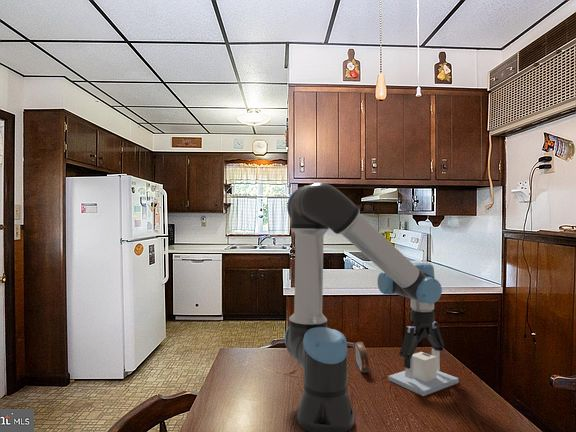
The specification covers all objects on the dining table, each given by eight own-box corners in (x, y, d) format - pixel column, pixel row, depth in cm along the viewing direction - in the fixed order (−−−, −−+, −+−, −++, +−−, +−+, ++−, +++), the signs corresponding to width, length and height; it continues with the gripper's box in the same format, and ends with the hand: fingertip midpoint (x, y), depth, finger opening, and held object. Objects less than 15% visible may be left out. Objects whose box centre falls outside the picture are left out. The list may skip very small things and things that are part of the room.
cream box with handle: (425, 382, 122) (424, 359, 122) (410, 375, 127) (409, 354, 127) (436, 378, 125) (436, 355, 126) (421, 372, 131) (421, 350, 131)
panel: (423, 396, 116) (423, 374, 116) (388, 380, 127) (388, 360, 127) (458, 382, 125) (458, 363, 125) (423, 369, 137) (422, 351, 137)
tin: (369, 376, 131) (369, 352, 131) (360, 376, 131) (360, 351, 131) (362, 360, 146) (362, 338, 146) (354, 360, 146) (354, 338, 146)
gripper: (406, 316, 117) (406, 385, 116) (455, 307, 130) (455, 369, 130) (387, 312, 123) (388, 377, 123) (436, 303, 137) (436, 362, 136)
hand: (422, 373), depth 126 cm, fingers open, 13 cm apart
